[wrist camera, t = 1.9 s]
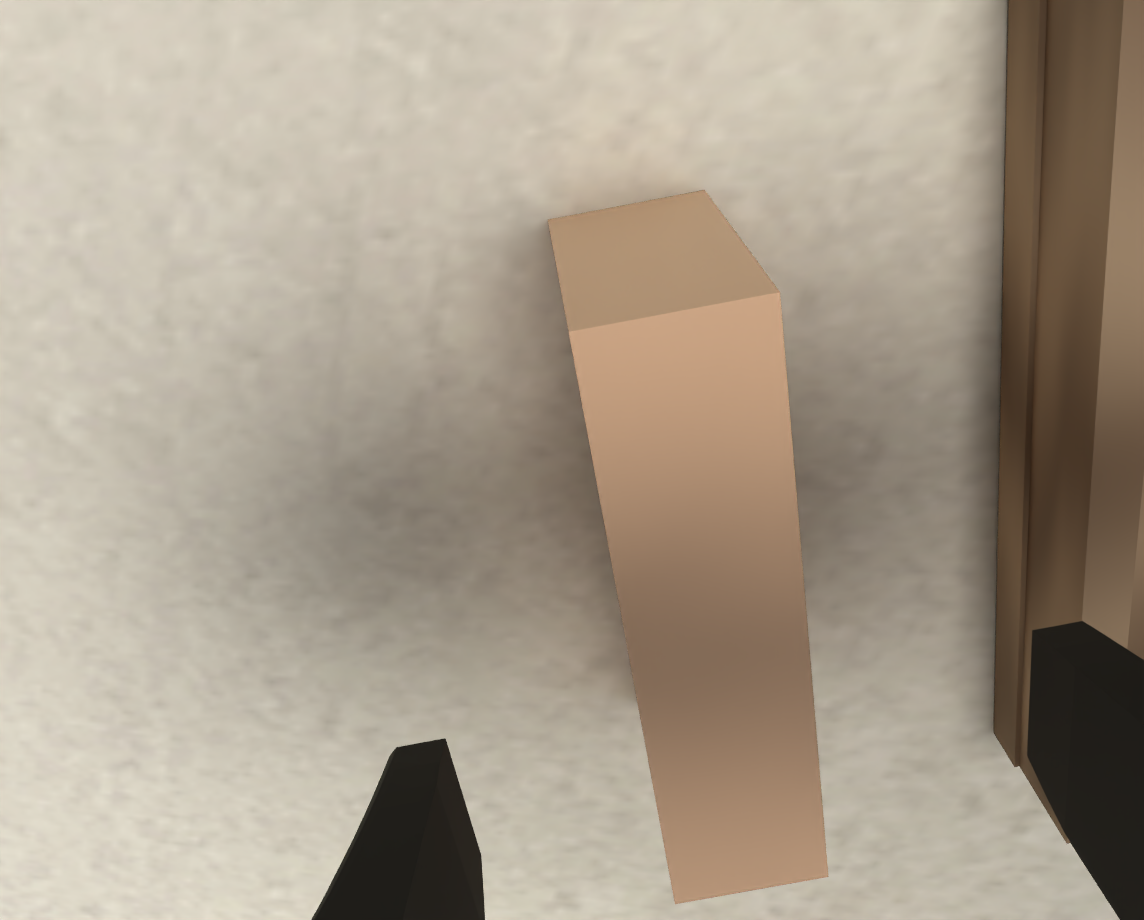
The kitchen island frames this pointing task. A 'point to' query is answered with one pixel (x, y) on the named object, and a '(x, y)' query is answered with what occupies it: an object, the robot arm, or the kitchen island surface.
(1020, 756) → the rack
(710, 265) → the peach rectangular block
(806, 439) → the kitchen island surface
